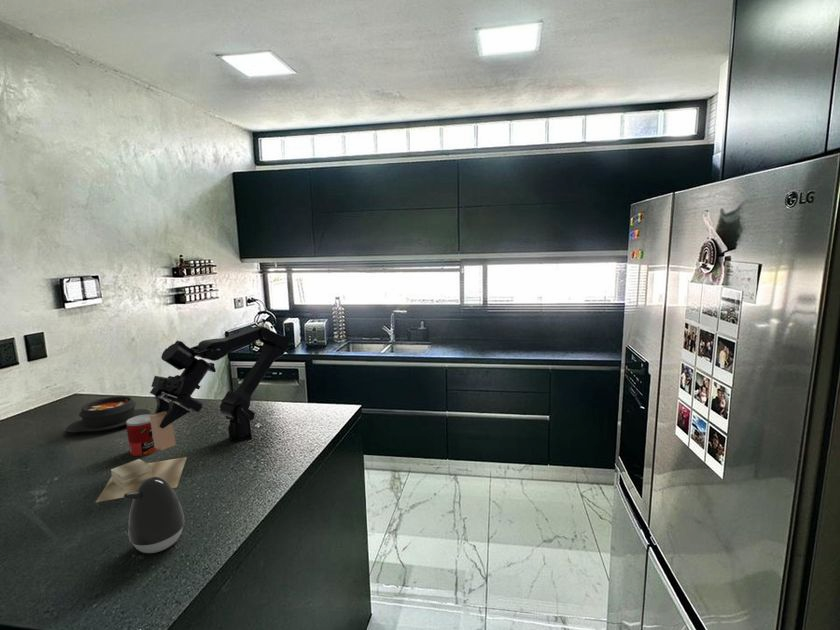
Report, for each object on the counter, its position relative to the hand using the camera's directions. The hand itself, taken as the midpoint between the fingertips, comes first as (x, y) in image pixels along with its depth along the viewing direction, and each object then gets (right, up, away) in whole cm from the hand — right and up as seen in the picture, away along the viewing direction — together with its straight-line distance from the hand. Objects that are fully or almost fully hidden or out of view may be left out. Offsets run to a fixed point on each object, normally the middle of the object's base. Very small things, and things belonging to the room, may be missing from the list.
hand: (157, 426), depth 123 cm
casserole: (-38, -9, +36) cm, 53 cm away
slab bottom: (-4, -14, -4) cm, 15 cm away
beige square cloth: (-2, -14, -3) cm, 14 cm away
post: (+1, -6, +2) cm, 7 cm away
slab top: (-4, -12, -4) cm, 13 cm away
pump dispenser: (+18, -18, -29) cm, 39 cm away
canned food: (-12, -12, +14) cm, 22 cm away
